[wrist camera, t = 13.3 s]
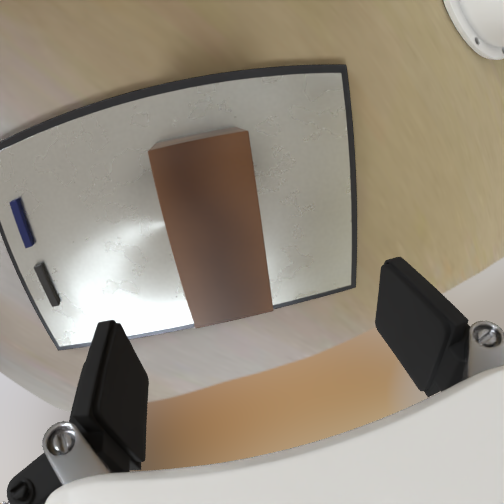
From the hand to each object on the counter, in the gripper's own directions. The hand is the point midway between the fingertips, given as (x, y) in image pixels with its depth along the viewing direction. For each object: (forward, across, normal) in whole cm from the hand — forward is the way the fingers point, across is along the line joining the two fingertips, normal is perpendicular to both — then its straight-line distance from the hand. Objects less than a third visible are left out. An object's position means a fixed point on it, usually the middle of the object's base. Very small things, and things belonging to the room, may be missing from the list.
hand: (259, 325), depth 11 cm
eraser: (+14, +1, +1) cm, 14 cm away
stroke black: (+13, +16, +3) cm, 21 cm away
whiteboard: (+14, +4, +1) cm, 15 cm away
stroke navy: (+13, +16, -2) cm, 21 cm away
